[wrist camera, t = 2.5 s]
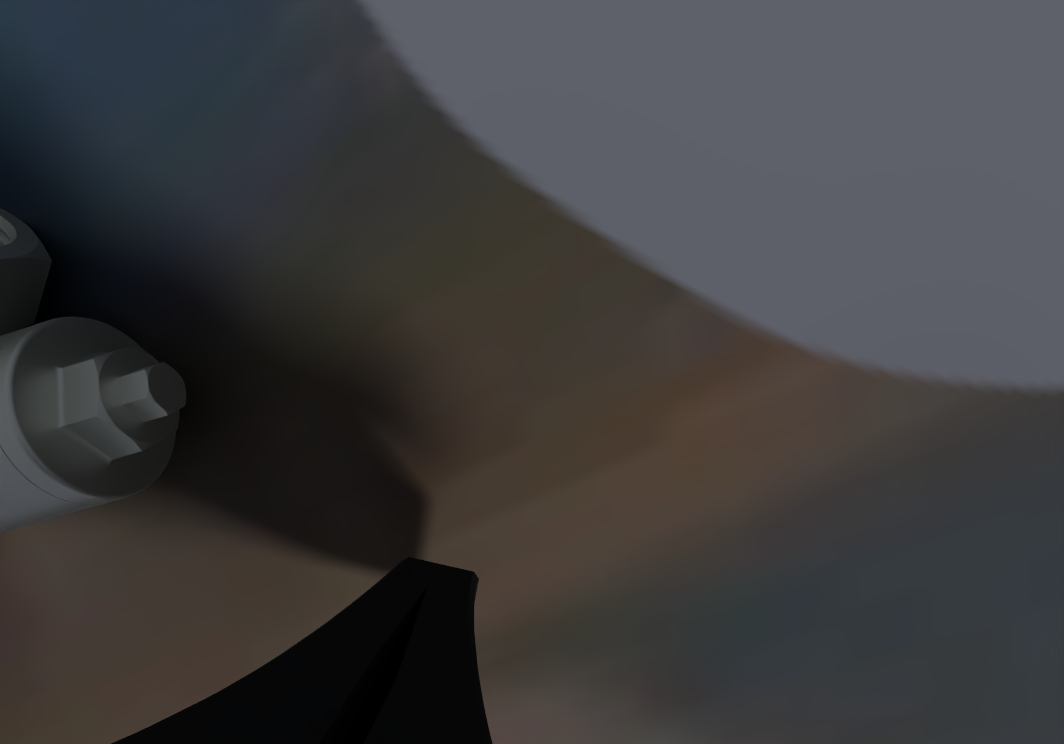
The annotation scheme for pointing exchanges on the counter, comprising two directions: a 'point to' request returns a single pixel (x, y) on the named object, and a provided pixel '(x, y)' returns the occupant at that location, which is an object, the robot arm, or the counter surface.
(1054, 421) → the counter surface
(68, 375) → the pipe fitting
